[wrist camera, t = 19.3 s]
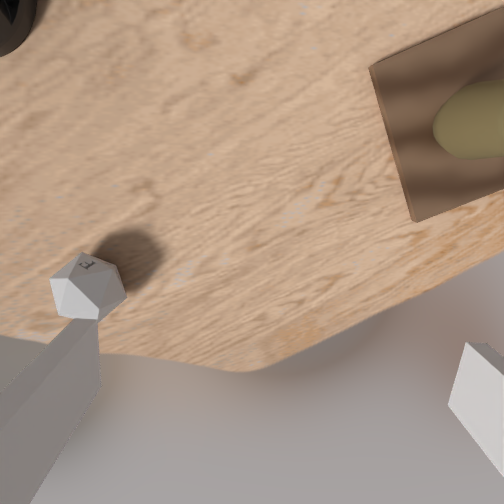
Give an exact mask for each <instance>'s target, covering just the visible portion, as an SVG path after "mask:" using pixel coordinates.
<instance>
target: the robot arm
mask: <svg viewBox="0 0 504 504" xmlns="http://www.w3.org/2000/svg"><path fill="white" fill-rule="evenodd" d="M36 5H37V0H0V57H2V56H4V55H6V54H8V53H10V52H11V51H13V50H14V49H15V48H17V47H18V46H19V45H20V44H21V43H22V41H23V40H24V39H25V37H26V36H27V34H28V33H29V31H30V29H31V26H32V24H33V21H34V17H35V12H36ZM100 388H101V373H100V358H99V341H98V325H97V319H81V318H74V319H73V320H72V321H71V322H70V323H69V324H68V325H67V326H66V327H65V328H64V329H63V330H62V331H61V332H60V333H59V334H58V335H57V336H56V337H55V338H54V339H53V340H52V341H51V342H50V343H49V344H48V345H47V346H46V347H45V348H44V349H43V350H42V351H41V352H40V353H39V354H38V355H37V356H36V357H35V358H34V359H33V360H32V361H31V362H30V363H29V364H28V365H27V366H26V367H25V368H24V369H23V370H22V371H21V372H20V373H19V374H18V375H17V376H16V377H15V378H14V379H13V380H12V381H11V382H10V383H9V384H8V385H7V386H6V387H5V388H4V389H3V390H2V391H1V392H0V504H30V502H31V501H32V499H33V497H34V496H35V494H36V493H37V491H38V489H39V488H40V486H41V484H42V483H43V481H44V479H45V478H46V476H47V474H48V473H49V471H50V469H51V468H52V466H53V464H54V463H55V461H56V460H57V458H58V456H59V455H60V453H61V451H62V450H63V448H64V447H65V445H66V443H67V442H68V440H69V438H70V437H71V435H72V433H73V432H74V430H75V429H76V427H77V425H78V424H79V422H80V420H81V419H82V417H83V415H84V414H85V412H86V410H87V409H88V407H89V405H90V404H91V402H92V401H93V399H94V397H95V396H96V394H97V392H98V391H99V389H100ZM448 406H449V407H450V409H451V410H452V411H453V412H454V414H455V415H456V416H457V417H458V419H459V420H460V422H461V423H462V424H463V425H464V427H465V428H466V429H467V431H468V432H469V433H470V434H471V436H472V437H473V438H474V440H475V441H476V442H477V443H478V445H479V446H480V447H481V448H482V450H483V451H484V452H485V454H486V455H487V456H488V458H489V459H490V460H491V461H492V463H493V464H494V465H495V467H496V468H497V469H498V471H499V472H500V473H501V475H502V476H503V477H504V357H503V356H502V355H500V354H499V353H498V352H497V351H496V350H495V349H493V348H492V347H491V346H490V345H488V344H487V343H475V342H466V345H465V348H464V351H463V355H462V358H461V362H460V366H459V369H458V372H457V375H456V379H455V382H454V385H453V389H452V392H451V396H450V399H449V402H448Z"/></svg>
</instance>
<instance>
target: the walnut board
mask: <svg viewBox="0 0 504 504" xmlns="http://www.w3.org/2000/svg"><path fill="white" fill-rule="evenodd" d="M369 72H370V75H371V79H372V82H373V86H374V89H375V93H376V96H377V100H378V103H379V107H380V110H381V114H382V117H383V121H384V124H385V128H386V131H387V135H388V138H389V142H390V145H391V149H392V152H393V156H394V160H395V163H396V167H397V170H398V174H399V177H400V181H401V184H402V188H403V191H404V195H405V198H406V202H407V205H408V209H409V212H410V216H411V219H412V221H414V222H417V223H418V222H420V221H423V220H425V219H428V218H430V217H433V216H435V215H438V214H440V213H443V212H446V211H448V210H451V209H453V208H456V207H458V206H461V205H463V204H466V203H469V202H471V201H474V200H476V199H479V198H481V197H484V196H486V195H489V194H492V193H494V192H497V191H499V190H502V189H504V157H496V158H486V159H476V160H468V159H459V158H457V157H455V156H454V155H452V154H450V153H449V152H447V151H446V150H445V149H444V148H443V147H441V146H440V145H439V144H438V142H437V141H436V139H435V137H434V135H433V127H432V126H433V122H434V118H435V115H436V114H437V112H438V111H439V109H440V108H441V106H442V105H443V104H444V103H445V102H446V101H447V100H448V99H449V98H450V97H451V96H453V95H454V94H455V93H456V92H458V91H459V90H460V89H462V88H463V87H464V86H467V85H471V84H474V83H477V82H483V81H492V80H502V79H504V8H503V7H502V8H499V9H497V10H495V11H493V12H490V13H488V14H486V15H484V16H481V17H479V18H477V19H475V20H472V21H470V22H468V23H466V24H463V25H461V26H459V27H457V28H455V29H452V30H450V31H448V32H446V33H443V34H441V35H439V36H437V37H434V38H432V39H430V40H428V41H425V42H423V43H421V44H419V45H416V46H414V47H412V48H410V49H407V50H405V51H403V52H401V53H398V54H396V55H394V56H392V57H390V58H387V59H385V60H383V61H381V62H378V63H376V64H374V65H372V66H370V67H369Z"/></svg>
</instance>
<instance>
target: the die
mask: <svg viewBox="0 0 504 504" xmlns="http://www.w3.org/2000/svg"><path fill="white" fill-rule="evenodd" d="M49 280H50V284H51V288H52V292H53V296H54V300H55V304H56V307H57V311H58V315H61V316H65V317H69V318H73V319H74V318H81V319H97V323H98V322H100V321H101V320H102V319H103V318H104V317H105V316H107V315H108V314H109V313H110V312H111V311H112V310H113V309H115V308H116V307H117V306H118V305H119V304H120V303H122V302H123V301H124V300H125V299H126V298H127V295H126V293H125V290H124V287H123V284H122V281H121V278H120V275H119V272H118V269H117V266H116V265H114V264H112V263H109V262H106V261H104V260H101V259H99V258H96V257H94V256H91V255H89V254H86V253H84V252H81V253H80V254H79V255H78V256H76V257H75V258H74V259H73V260H71V261H70V262H69V263H68V264H66V265H65V266H64V267H63V268H62V269H60V270H59V271H58V272H57V273H55V274H54V275H53V276H52V277H50V278H49Z"/></svg>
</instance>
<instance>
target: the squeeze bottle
mask: <svg viewBox="0 0 504 504" xmlns="http://www.w3.org/2000/svg"><path fill="white" fill-rule="evenodd" d="M432 127H433V135H434V137H435V139H436V141H437V142H438V144H439V145H440V146H441V147H443V148H444V149H445V150H446V151H447V152H449V153H450V154H452V155H454V156H455V157H457V158H459V159H468V160H476V159H486V158H496V157H504V79H502V80H492V81H483V82H477V83H474V84H471V85H467V86H464V87H463V88H462V89H460V90H459V91H458V92H456V93H455V94H454V95H453V96H451V97H450V98H449V99H448V100H447V101H446V102H445V103H444V104H443V105H442V106H441V108H440V109H439V111H438V112H437V114H436V115H435V118H434V122H433V126H432Z"/></svg>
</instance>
